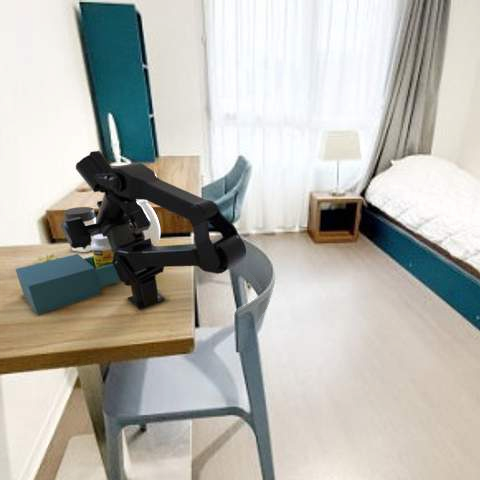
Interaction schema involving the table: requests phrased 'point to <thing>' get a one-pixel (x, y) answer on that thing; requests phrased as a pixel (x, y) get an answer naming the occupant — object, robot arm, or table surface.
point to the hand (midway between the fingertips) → (102, 242)
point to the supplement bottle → (102, 251)
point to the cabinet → (58, 283)
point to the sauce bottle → (154, 226)
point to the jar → (87, 218)
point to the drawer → (104, 273)
